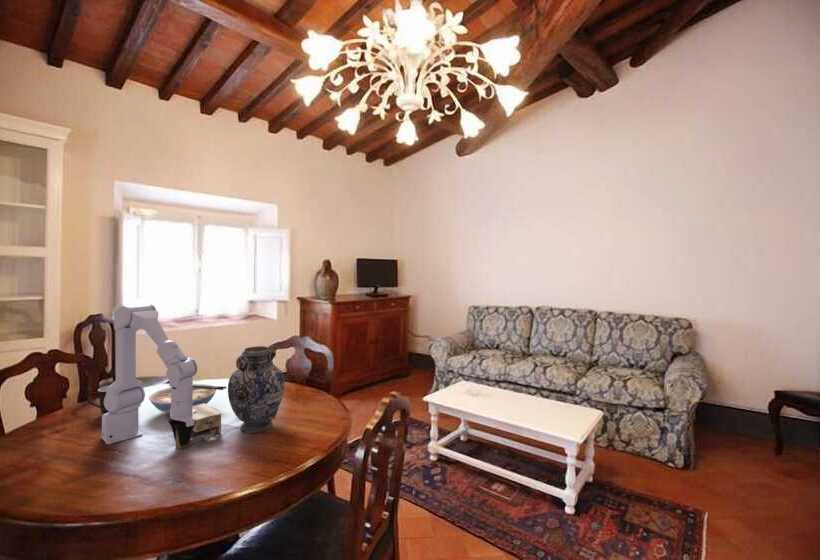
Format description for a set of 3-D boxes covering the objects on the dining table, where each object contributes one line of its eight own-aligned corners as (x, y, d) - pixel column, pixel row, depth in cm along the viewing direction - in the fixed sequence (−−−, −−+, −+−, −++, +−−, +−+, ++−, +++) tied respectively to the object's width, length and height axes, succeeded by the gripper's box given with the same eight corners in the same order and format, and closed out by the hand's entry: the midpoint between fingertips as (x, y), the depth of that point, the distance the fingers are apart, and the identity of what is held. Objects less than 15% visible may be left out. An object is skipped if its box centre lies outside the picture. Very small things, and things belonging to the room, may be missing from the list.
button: (208, 443, 122) (208, 440, 122) (202, 440, 124) (202, 436, 124) (220, 439, 125) (220, 435, 125) (214, 436, 127) (214, 432, 127)
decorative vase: (263, 442, 122) (263, 355, 122) (212, 437, 126) (212, 353, 126) (296, 418, 143) (296, 343, 143) (251, 414, 147) (251, 341, 147)
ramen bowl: (130, 419, 139) (130, 397, 139) (178, 399, 161) (178, 380, 161) (190, 425, 134) (190, 403, 134) (231, 403, 157) (231, 384, 157)
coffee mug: (132, 410, 148) (132, 385, 147) (113, 419, 139) (113, 392, 139) (105, 409, 149) (105, 383, 149) (84, 417, 140) (84, 390, 140)
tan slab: (196, 442, 122) (196, 420, 122) (179, 429, 132) (179, 409, 131) (222, 434, 128) (222, 413, 128) (204, 422, 138) (204, 403, 137)
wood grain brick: (181, 450, 116) (181, 430, 116) (175, 448, 118) (175, 428, 117) (217, 434, 128) (218, 417, 128) (212, 432, 129) (212, 415, 129)
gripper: (205, 401, 116) (205, 445, 116) (187, 391, 125) (187, 432, 126) (179, 407, 111) (179, 453, 111) (162, 396, 120) (162, 438, 120)
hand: (181, 442), depth 118 cm, fingers closed on wood grain brick, 3 cm apart
